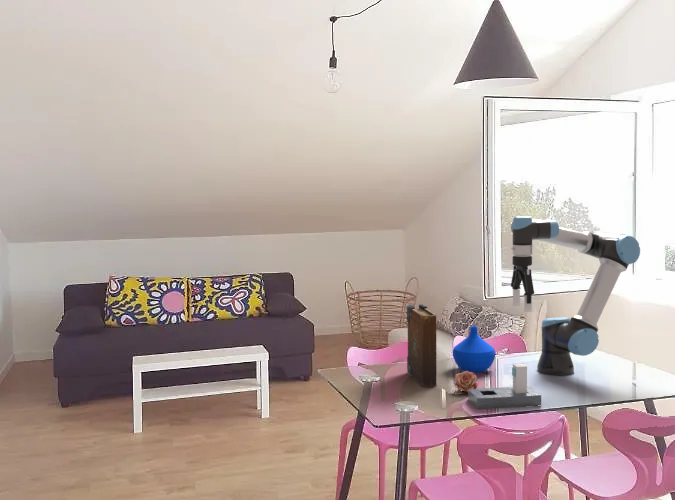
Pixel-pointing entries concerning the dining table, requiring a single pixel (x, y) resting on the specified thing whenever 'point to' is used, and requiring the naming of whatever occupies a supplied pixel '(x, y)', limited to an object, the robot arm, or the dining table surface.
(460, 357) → the vase
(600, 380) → the dining table surface
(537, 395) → the panel
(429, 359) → the decorative book
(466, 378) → the flower
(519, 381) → the plug
